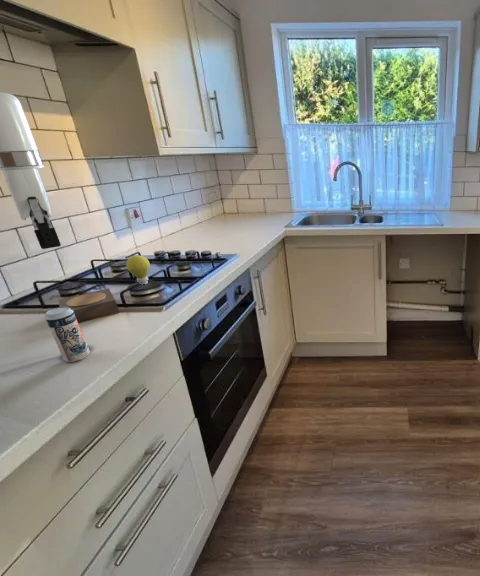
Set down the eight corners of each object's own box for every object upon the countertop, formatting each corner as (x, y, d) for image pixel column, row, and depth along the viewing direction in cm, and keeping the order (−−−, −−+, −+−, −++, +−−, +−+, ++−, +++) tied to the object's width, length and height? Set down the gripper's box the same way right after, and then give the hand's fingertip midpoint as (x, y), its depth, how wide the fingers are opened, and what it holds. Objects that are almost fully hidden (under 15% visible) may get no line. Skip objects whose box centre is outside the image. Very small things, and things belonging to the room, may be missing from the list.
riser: (66, 326, 96) (60, 312, 95) (63, 312, 105) (57, 299, 103) (119, 312, 104) (114, 298, 102) (113, 300, 112) (108, 287, 110)
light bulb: (159, 280, 127) (151, 253, 123) (144, 287, 121) (135, 259, 117) (143, 279, 128) (135, 252, 124) (127, 286, 122) (118, 258, 118)
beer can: (73, 365, 80) (52, 316, 75) (59, 361, 81) (37, 314, 76) (95, 353, 84) (77, 307, 79) (81, 350, 85) (62, 304, 81)
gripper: (-7, 161, 76) (26, 239, 83) (-11, 164, 65) (28, 255, 71) (39, 159, 81) (67, 233, 88) (44, 161, 69) (75, 247, 76)
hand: (50, 243), depth 80 cm, fingers open, 9 cm apart
